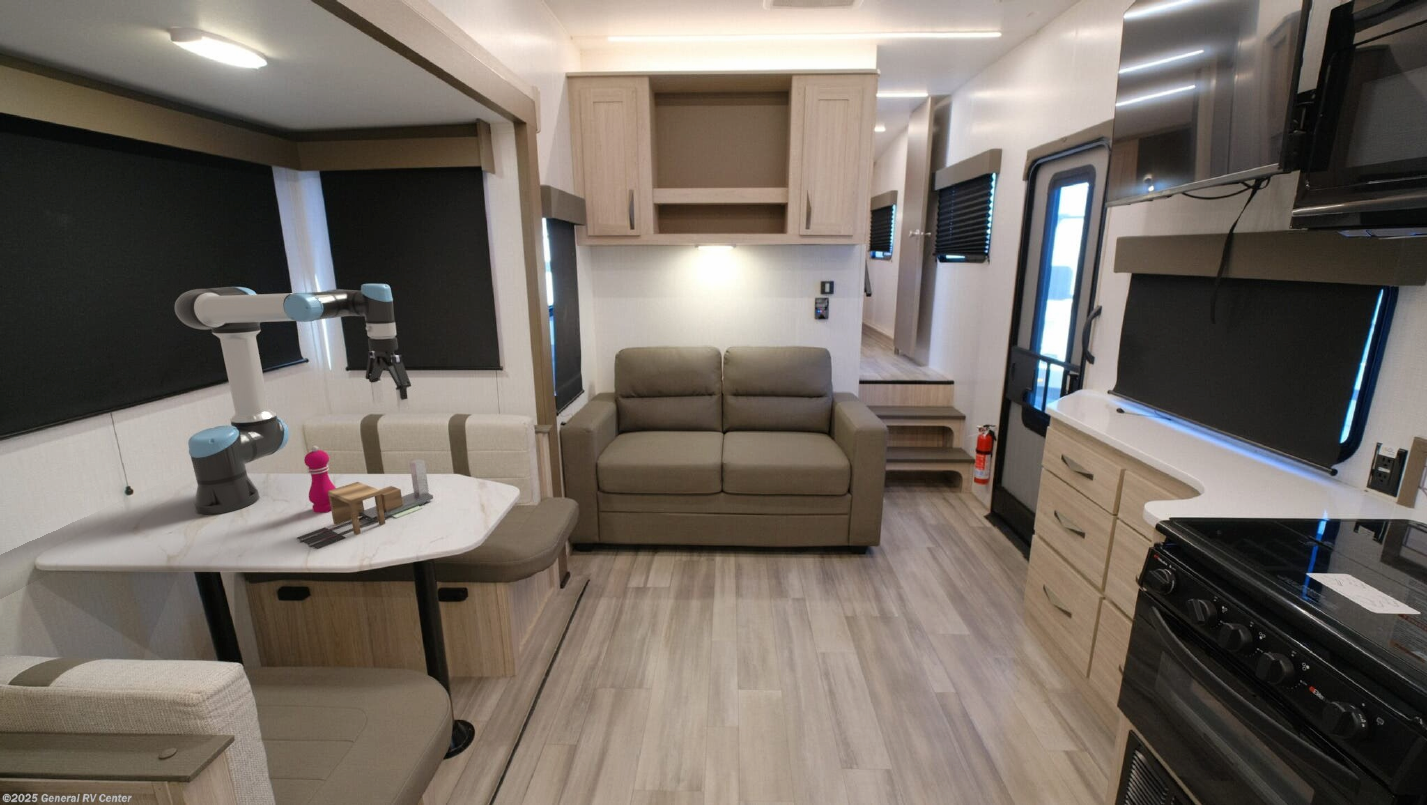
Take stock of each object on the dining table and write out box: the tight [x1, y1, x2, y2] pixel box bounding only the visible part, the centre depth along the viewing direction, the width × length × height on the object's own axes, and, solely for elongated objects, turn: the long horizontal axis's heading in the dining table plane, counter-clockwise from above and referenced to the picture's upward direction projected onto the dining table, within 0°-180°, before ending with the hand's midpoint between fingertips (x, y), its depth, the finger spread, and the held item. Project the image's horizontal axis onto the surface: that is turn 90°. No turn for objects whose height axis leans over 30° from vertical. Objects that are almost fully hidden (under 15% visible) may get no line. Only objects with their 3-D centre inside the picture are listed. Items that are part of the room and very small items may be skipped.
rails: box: [298, 502, 426, 548], centre depth 164 cm, size 6×32×1 cm, turn 149°
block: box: [379, 485, 403, 511], centre depth 168 cm, size 5×5×5 cm
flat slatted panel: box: [296, 526, 347, 550], centre depth 154 cm, size 11×7×1 cm, turn 59°
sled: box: [359, 458, 434, 522], centre depth 170 cm, size 7×18×12 cm, turn 149°
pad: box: [391, 505, 423, 519], centre depth 172 cm, size 11×8×1 cm
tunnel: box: [328, 481, 386, 536], centre depth 161 cm, size 12×8×10 cm, turn 59°
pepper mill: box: [303, 445, 336, 514], centre depth 169 cm, size 7×7×20 cm
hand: (390, 406), depth 174 cm, fingers open, 13 cm apart
